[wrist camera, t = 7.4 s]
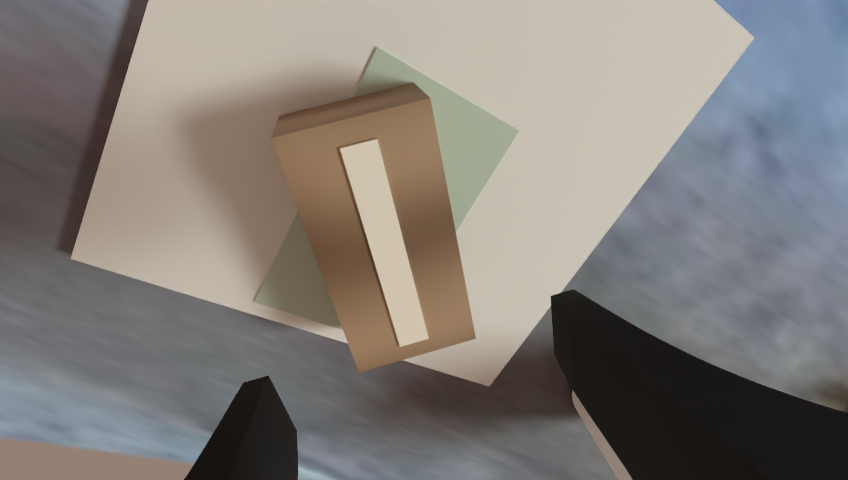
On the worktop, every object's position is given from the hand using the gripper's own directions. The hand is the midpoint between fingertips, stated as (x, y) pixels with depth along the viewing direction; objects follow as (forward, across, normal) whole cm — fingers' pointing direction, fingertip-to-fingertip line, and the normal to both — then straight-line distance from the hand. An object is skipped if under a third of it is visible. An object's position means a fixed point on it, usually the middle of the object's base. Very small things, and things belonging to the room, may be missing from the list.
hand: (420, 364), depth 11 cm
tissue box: (+9, 0, 0) cm, 9 cm away
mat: (+9, -2, -3) cm, 10 cm away
